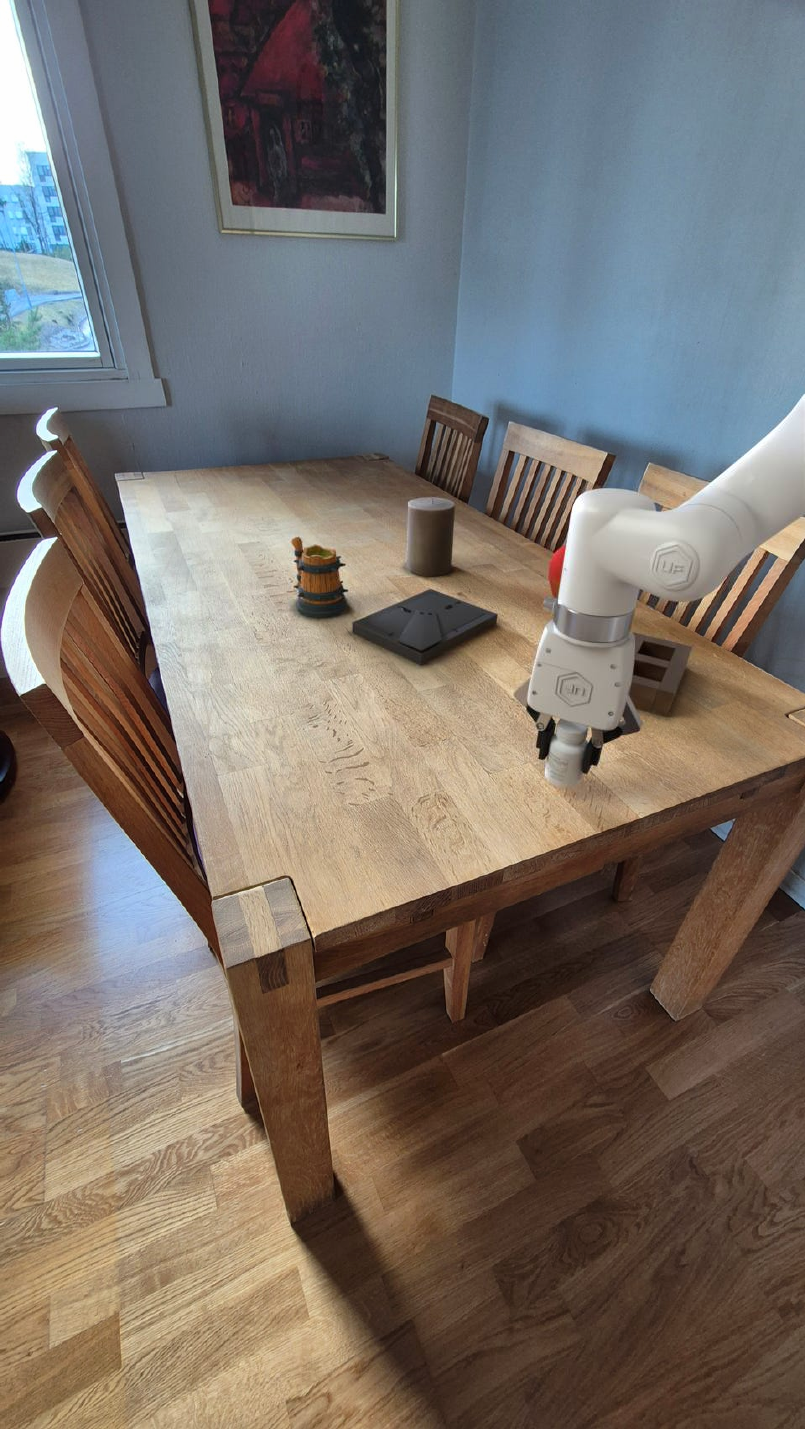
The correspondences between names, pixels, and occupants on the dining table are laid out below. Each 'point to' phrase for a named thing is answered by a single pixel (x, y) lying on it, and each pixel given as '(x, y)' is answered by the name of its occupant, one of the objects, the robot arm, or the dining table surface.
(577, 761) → the pill bottle
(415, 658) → the picture frame
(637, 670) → the grid rack
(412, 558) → the pillar candle
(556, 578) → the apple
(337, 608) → the mug
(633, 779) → the dining table surface
